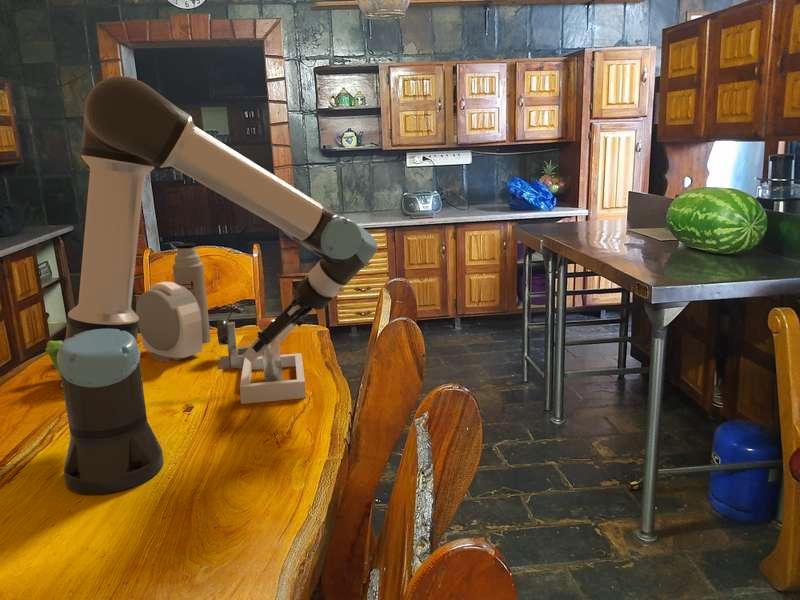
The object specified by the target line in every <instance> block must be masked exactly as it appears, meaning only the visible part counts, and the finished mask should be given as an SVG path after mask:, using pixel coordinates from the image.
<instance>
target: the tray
mask: <svg viewBox="0 0 800 600" xmlns="http://www.w3.org/2000/svg"><path fill="white" fill-rule="evenodd" d="M302 355H303V354H302V352H300V353H288V354H287V353H286V354H280V356H281V368H289V367H295V371H296V372H295V373H296V379H286V380H284V379H283V380H281V381H273V382H265V381H264V382H254V383H253V382H252V383H251V380H252V371H255V370H264V369H263V357H262V356H260V357H257V359H256V360H255V361H254V362H253V363H251V362H250V361H249V360H248V359H247V358H244V364H243V369H241V370H242V371H241V377H240V385H239V393H240V394H239V395H240V403H241V405H244V404H245V405H246V404H256V403H264V402H265V403H266V402H276V401H287V400H288V401H289V400H296V399H297V400H298V399H305V398H307V394H306V393H307V392H306V380H305V373H304V372H305V371H304V364H303V356H302Z"/></svg>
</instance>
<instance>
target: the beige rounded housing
mask: <svg viewBox="0 0 800 600" xmlns="http://www.w3.org/2000/svg"><path fill="white" fill-rule="evenodd" d="M135 313H136V314H137V315H138V316H139V323H138V331H139V334H140V339H141V342H142V343H141V344H142V346H143V349H145V350H147V351H149V352H150V353H151V358H152V359H153V360H158V361H161V362H165V363H170V361H171V360H175V361H181V360H184V359H186V358H189V357H192V356H195V355H197V354H199V353H202V352H203V344H202V316H201V311H200V308H199V305H198V302H197V301H196V299H195V297H194V296H193V294H192V293H191V292H190V291H189V290H188V289H186V288H185V287H183V286H180V285H177V284H176V283H174V282H172V281H161V282H158V283H154V284H151V285H150V287H149V289H148V290H146V291H144V292H142V293H141V294H140V295H139V297H138V299H137V302H136V307H135Z"/></svg>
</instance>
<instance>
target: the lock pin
mask: <svg viewBox="0 0 800 600" xmlns="http://www.w3.org/2000/svg"><path fill="white" fill-rule="evenodd" d="M277 317H278V316H277ZM277 317H276V316H269V317H267V316H266V317H262V318H259V319H258V329H260V332H261V333H262V332H263V331H264V330H265V329H266V328H267V327H268V326H269V325H270V324H271V323H272V322H273V321H274V320H275V319H276V318H277ZM280 355H281V343H280V341H279V335H278V336H277V337H276V338H274V339H273V340H272V341H271V344H270V345H269V346H268V347H267V348H266V349H265V350H264V351H263V352H262V357H263V369H262V370H263V378H264V379H263V380H264V382H273V381H283V373H282V367H281V356H280Z"/></svg>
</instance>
